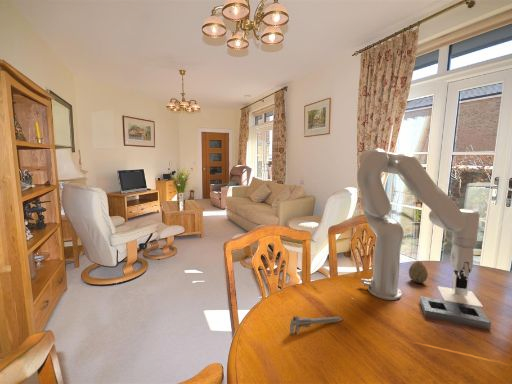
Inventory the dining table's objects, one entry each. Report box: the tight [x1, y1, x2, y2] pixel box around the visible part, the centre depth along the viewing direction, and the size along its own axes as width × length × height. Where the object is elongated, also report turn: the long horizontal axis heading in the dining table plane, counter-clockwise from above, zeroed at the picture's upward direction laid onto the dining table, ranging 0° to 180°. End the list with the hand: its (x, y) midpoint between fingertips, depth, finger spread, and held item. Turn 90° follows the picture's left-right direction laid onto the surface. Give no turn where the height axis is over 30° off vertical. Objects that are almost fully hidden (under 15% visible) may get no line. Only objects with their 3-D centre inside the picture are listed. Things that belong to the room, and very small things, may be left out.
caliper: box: [289, 315, 344, 336], centre depth 87 cm, size 20×1×6 cm, turn 112°
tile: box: [436, 285, 484, 308], centre depth 104 cm, size 12×12×1 cm
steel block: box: [451, 270, 470, 296], centre depth 104 cm, size 4×4×8 cm
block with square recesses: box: [419, 295, 492, 331], centre depth 92 cm, size 18×10×3 cm, turn 67°
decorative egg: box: [408, 260, 429, 284], centre depth 116 cm, size 7×7×10 cm
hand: (459, 284), depth 104 cm, fingers closed on steel block, 3 cm apart
